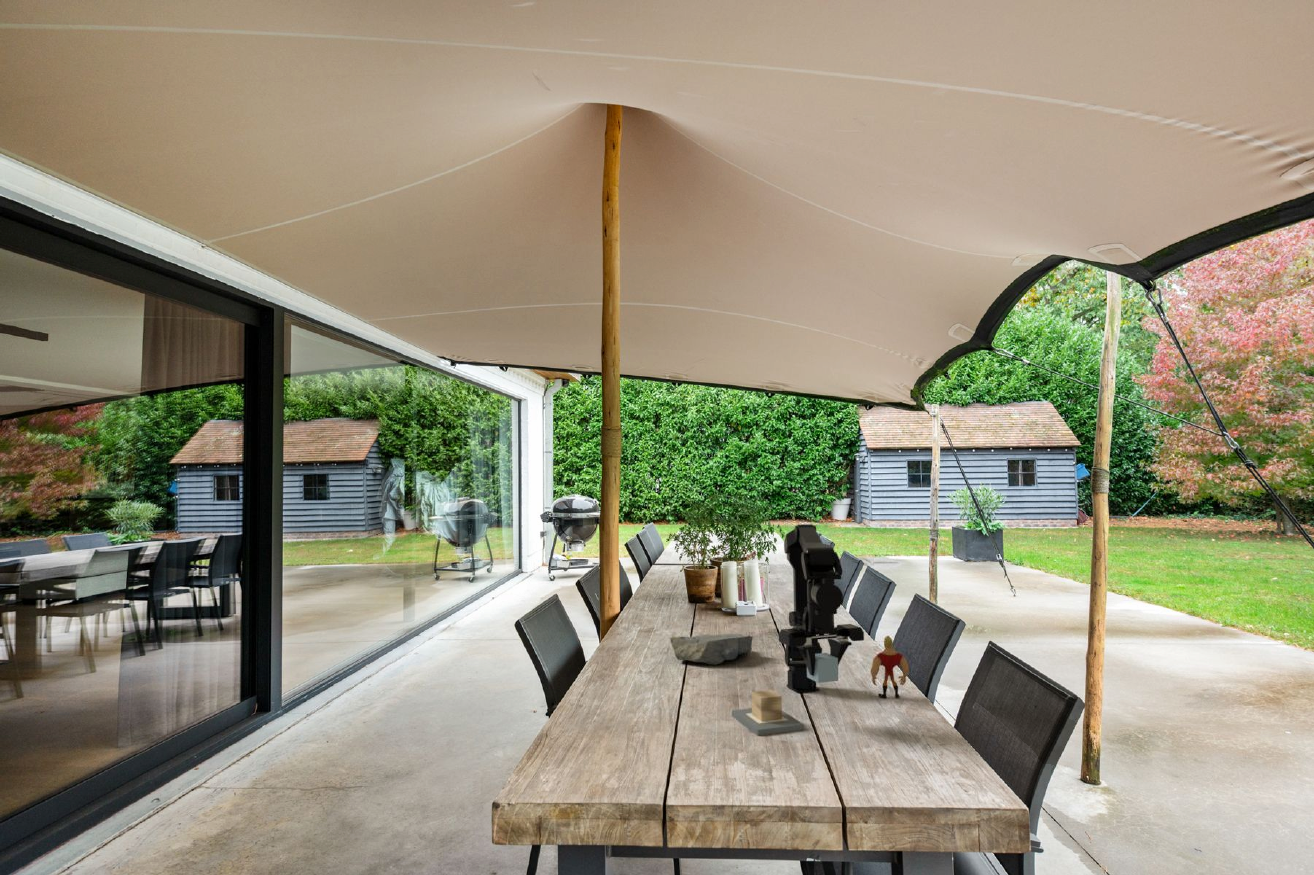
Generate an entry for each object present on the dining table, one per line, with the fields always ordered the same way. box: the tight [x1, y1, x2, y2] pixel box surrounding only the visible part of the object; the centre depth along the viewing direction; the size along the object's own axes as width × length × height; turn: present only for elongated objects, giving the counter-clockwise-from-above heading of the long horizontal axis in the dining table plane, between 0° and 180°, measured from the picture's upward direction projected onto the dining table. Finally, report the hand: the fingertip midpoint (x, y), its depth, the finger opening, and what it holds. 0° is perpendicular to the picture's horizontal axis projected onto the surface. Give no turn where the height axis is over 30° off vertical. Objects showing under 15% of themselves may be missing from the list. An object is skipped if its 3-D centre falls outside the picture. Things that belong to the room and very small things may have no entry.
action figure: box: [870, 635, 910, 699], centre depth 184 cm, size 10×4×15 cm, turn 91°
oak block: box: [751, 689, 783, 721], centre depth 165 cm, size 5×5×5 cm
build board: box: [731, 707, 805, 736], centre depth 165 cm, size 11×14×1 cm
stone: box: [669, 633, 754, 666], centre depth 227 cm, size 24×8×25 cm
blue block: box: [807, 652, 839, 684], centre depth 164 cm, size 5×5×5 cm
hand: (822, 674), depth 164 cm, fingers closed on blue block, 5 cm apart
